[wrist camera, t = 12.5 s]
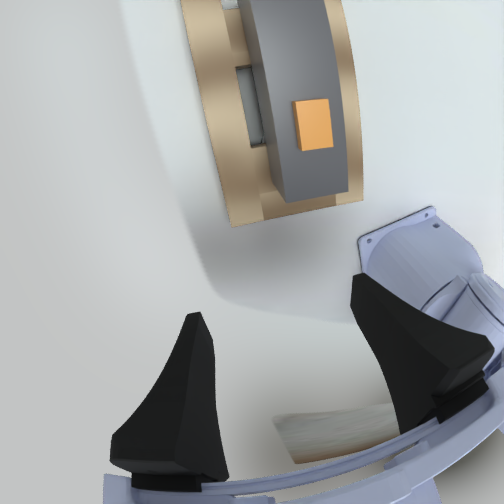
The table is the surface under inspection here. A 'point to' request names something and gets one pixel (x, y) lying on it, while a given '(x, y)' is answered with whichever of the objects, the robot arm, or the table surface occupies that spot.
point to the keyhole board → (233, 118)
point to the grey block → (298, 96)
